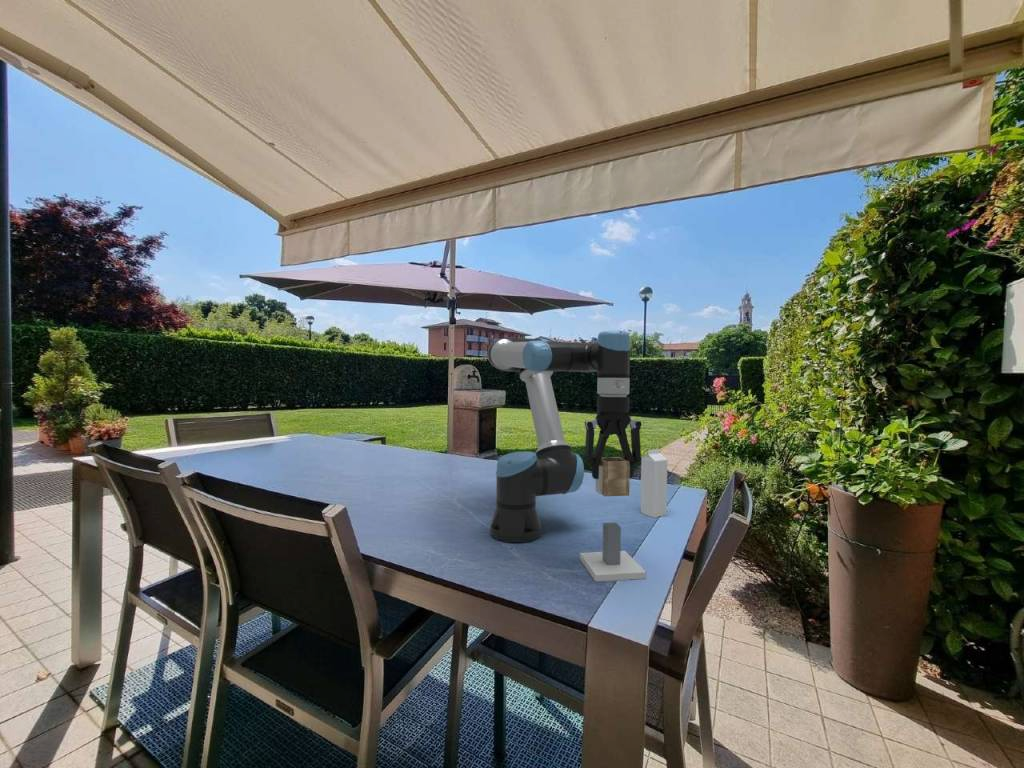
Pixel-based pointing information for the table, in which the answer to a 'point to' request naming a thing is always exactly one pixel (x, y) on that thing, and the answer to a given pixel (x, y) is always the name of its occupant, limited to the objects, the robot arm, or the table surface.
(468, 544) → the table surface
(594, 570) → the post board
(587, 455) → the robot arm
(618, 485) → the collar
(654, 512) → the milk
